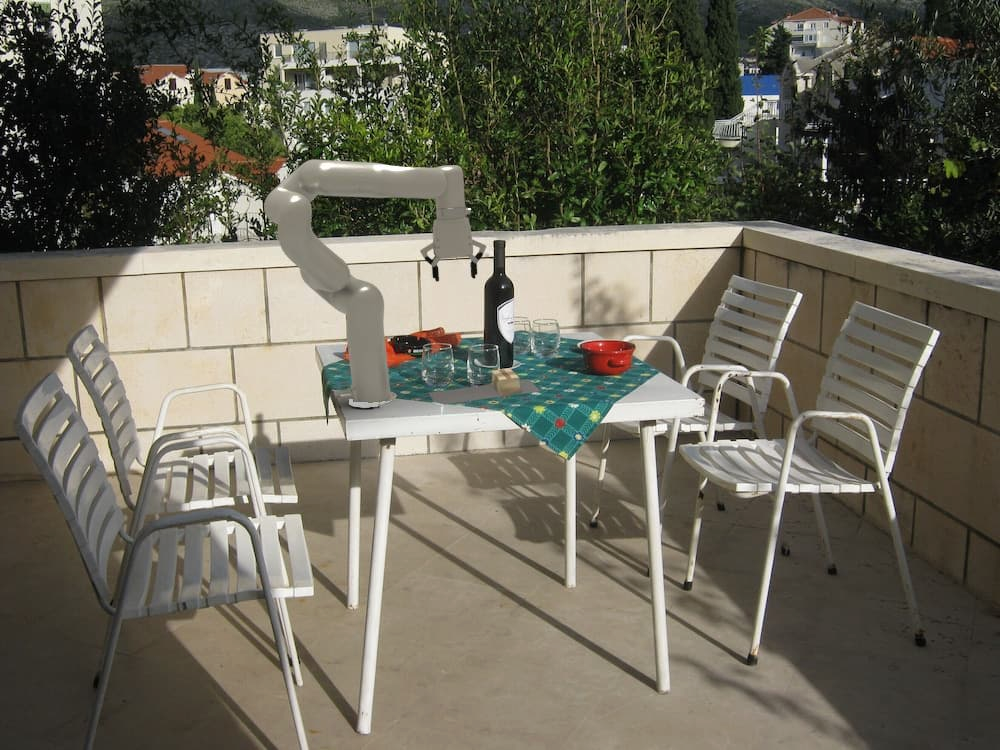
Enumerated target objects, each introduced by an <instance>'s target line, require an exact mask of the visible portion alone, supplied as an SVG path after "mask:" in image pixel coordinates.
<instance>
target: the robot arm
mask: <svg viewBox="0 0 1000 750" xmlns="http://www.w3.org/2000/svg"><path fill="white" fill-rule="evenodd" d="M464 184H465V183H464V171H463V169H462V167H461V166H460V165H454V164H453V165H451V164H450V165H447V164H446V165H440V166H437V167H425V166H423V167H421V166H418V167H417V166H416V167H415V166H414V167H408V166H400V165H399V166H397V165H392V164H391V165H389V164H385V163H379V162H369V161H368V162H365V161H364V162H363V161H350V160H349V161H347V160H346V161H345V160H327V159H315V158H314V159H309V160H307V161H305V162H304V163H302V164H301V165H300V166H298V167H296V169H295V170H294V171H293V172H292V173H290V174H289V175H288V176H287V177H286V178H285V179H284V180H283V181H281V182H280V183H279V184H278V185H277V186H276V187H274V189H272V190H271V192H269V194H268V195H267V196H266V198H265V201H264V204H263V205H264V206H263V210H264V213H265V216H266V218H268V220H270V221H271V222H272V223H274V224H275V225H277V237H278V242H279V246H280V249H281V250H282V251H283V253H284V255H285V256H286V257H287V258H288V259H289V260H290V261H291V262H292V263H293V264H295V266H296V267H297V268H298V269H299V273H300V276H301V278H302V281H304V283H305V284H306V285H307V286H308V288H310V289H311V290H312V291H314V292H315V294H317V295H318V296H319V297H320V298H322V299H323V300H324V301H325V302H326V303H327V304H329V305H330V306H331V307H332V308H334V309H335V310H337V311H338V312H340V313H342V314H344V315H346V317H347V318H346V320H347V321H346V343H347V350H348V351H347V352H348V359H349V368H350V369H349V370H350V378H351V384H350V385H349V387H347V388H346V389H344V390H342V389H341V390H334V396H335V399H340V400H346V399H349V398H350V399H353V402H368V403H373V402H379V403H380V402H382V401H386V402H387V401H391V400H394V399H395V400H397V398H398V395H397V393H396V392H394V391H391V386H390V376H389V375H390V374H389V368H388V357H387V350H386V347H387V346H386V338H385V330H384V329H385V326H384V316H385V315H384V314H385V300H384V297H383V296H384V295H383V294H382V292H381V290H380V289H379V288H378V287H377V286H376V285H374V284H373V283H372V282H368V281H366V280H363V279H358V278H357V277H354V275H352V274H351V270H350V267H349V266H348V264H347V262H345V260H344V259H343V258H341V256H339V255H338V254H337V253H335V252H334V251H333V250H331V249H330V248H329V247H328V246H327V245H326V244H325V243H324V242H322V240H321V239H320V238H319V237H318V236H317V235H316V234H315V232H314V231H313V228H312V215H313V212H312V206H311V205H312V204H311V202H313V200H314V199H315V198H316V197H317V196H318V195H319V196H325V197H327V196H328V197H349V198H350V197H355V198H376V199H385V198H390V199H391V198H397V199H398V198H401V199H402V198H403V199H404V198H405V199H424V200H435V209H436V210H435V213H436V214H435V215H436V219H434V220H433V224H432V225H433V227H432V242H431V243H430V244H428V245H426V246H424V247H423V248H421V249H420V250H419V252H420V253H421V256H422V257H423V259H424V260H425V262H427V263H428V264H430V266H431V272H432V273H431V275H432V279H434V280H435V282H436V283H438V282H440V276H439V274H440V273H439V266H438V263H439V262H440V260H443V259H445V260H447V259H456V258H469V259H470V263H469V264H470V276H471V278H472V279H476V275H478V263H479V261H480V260H481V259H482V258H483V257H484V253H485V251H486V249H487V244H486V245H485V244H484V243H482V242H479V241H477V240H475V239H473V237H472V228H471V224H470V220H469V217H467V215H468V214H472V208H470V207H469V208H468V207H466V202H465V201H466V199H465V185H464ZM474 247H477V248H478V249H479V250H478V251H477V253H476V254H475V255H474ZM432 250H433V255H434V257H433V258H431V257H430V256H429V255H428V252H430V251H432ZM396 397H397V398H396ZM395 400H394V401H395Z"/></svg>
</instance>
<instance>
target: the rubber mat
mask: <svg viewBox="0 0 1000 750" xmlns="http://www.w3.org/2000/svg"><path fill="white" fill-rule="evenodd" d="M519 381H520V393H515V394H508V395H500V393H499V392H498V391H497V390H496V389H495V387H494V386H493V383H491V384H485V385H483V384H482V385H478V386H477V385H476V386H469V387H468V386H467V387H460V388H454V389H448V390H447V389H446V390H438V391H431V392H428V394H429V396H430V398H431V399H432V401H433V403H434V402H435V401H436V402H438V403H440V404H441V403H442V404H444V405H451V404H459V403H464V402H472V401H479V400H486V399H494V398H502V397H510V396H514V395H515V396H516V395H523V394H531V393H532V394H533V393H539V394H542V393H541V390H540V389H539V388H538V387H537V386H536V385H535V384H534V383H533V382H532V381H531V380H530V379H529V378H528V379H519Z"/></svg>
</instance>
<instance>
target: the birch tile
mask: <svg viewBox="0 0 1000 750" xmlns="http://www.w3.org/2000/svg"><path fill="white" fill-rule="evenodd" d="M491 380H492V383H491V384H493V386H494V387H495V389H496V390H497V391H498V392H499V393H500V395H508V394H515V393H520V377H519V375H517V374H516V373H515V372H514V371H513V370H512V369H511V368H501V369H500V368H499V369H494V370H491Z"/></svg>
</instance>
